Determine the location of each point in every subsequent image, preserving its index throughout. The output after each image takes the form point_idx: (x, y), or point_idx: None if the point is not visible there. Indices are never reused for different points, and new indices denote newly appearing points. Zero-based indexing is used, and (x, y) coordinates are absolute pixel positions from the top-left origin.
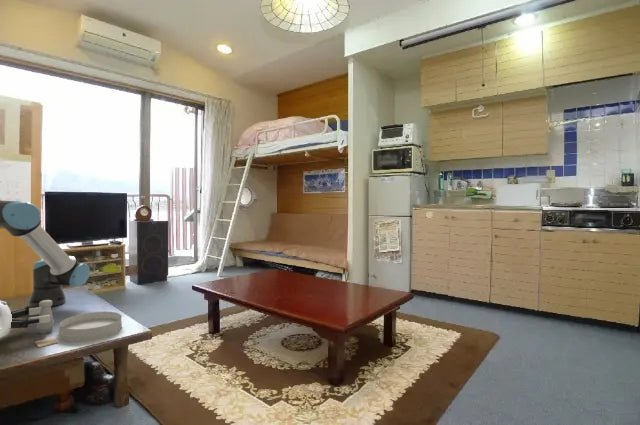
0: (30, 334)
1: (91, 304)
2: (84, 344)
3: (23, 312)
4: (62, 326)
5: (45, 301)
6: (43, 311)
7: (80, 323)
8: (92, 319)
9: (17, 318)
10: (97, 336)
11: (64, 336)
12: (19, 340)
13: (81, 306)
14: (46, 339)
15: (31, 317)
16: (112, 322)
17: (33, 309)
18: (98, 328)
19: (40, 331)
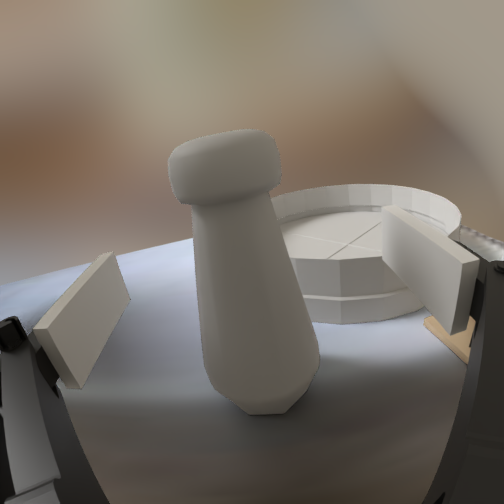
0: (282, 457)
1: (27, 290)
2: (482, 246)
3: (46, 389)
4: (322, 291)
5: (248, 129)
6: (277, 231)
7: None
8: None
9: (484, 351)
10: (437, 227)
11: None
12: (410, 487)
13: (16, 305)
14: (452, 336)
15: (452, 253)
16: (305, 224)
17: (69, 316)
18: (434, 199)
19: (303, 391)
